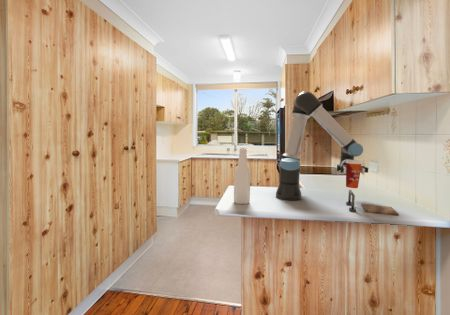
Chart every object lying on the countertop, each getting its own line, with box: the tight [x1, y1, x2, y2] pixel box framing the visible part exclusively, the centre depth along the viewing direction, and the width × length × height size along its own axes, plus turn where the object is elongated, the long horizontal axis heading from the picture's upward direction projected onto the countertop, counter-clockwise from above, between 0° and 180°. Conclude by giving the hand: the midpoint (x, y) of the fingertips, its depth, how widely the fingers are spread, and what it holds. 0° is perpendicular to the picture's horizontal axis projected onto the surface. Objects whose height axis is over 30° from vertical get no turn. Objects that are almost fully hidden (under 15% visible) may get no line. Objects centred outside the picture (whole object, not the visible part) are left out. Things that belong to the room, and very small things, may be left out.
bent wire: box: [345, 189, 357, 213], centre depth 133 cm, size 3×16×8 cm, turn 160°
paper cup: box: [345, 159, 363, 189], centre depth 131 cm, size 8×8×14 cm
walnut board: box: [360, 203, 400, 216], centre depth 129 cm, size 14×13×1 cm
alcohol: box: [233, 147, 251, 205], centre depth 138 cm, size 9×9×30 cm
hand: (354, 171), depth 127 cm, fingers closed on paper cup, 8 cm apart
